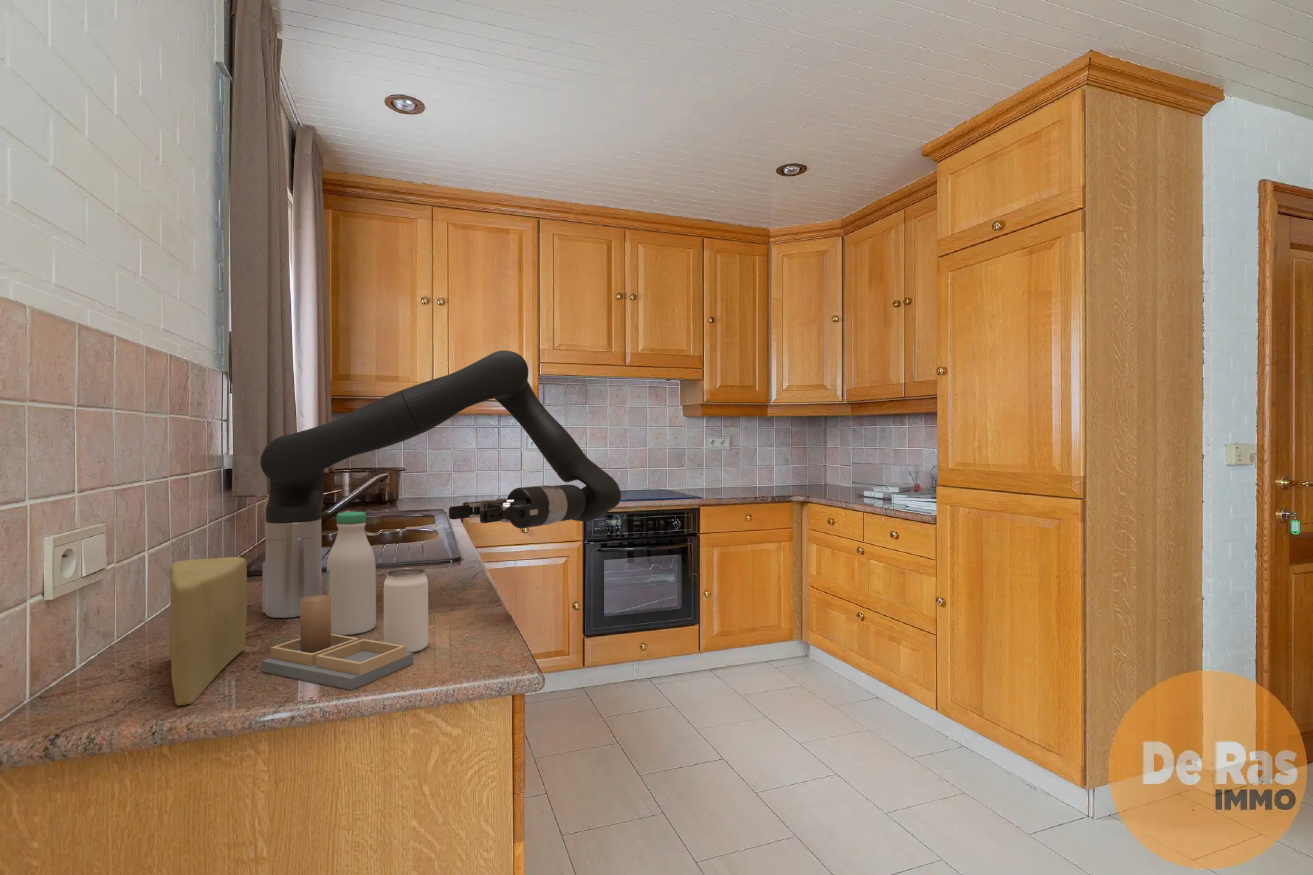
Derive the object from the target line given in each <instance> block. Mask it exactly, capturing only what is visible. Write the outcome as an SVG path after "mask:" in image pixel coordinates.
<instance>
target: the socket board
mask: <svg viewBox="0 0 1313 875" xmlns="http://www.w3.org/2000/svg"><path fill="white" fill-rule="evenodd" d="M299 617H300V619H299V620H300V626H299V627H300V628H299V629H300V632H299V633H300V636H299V638H297V639H294V640H290V641H287V642H286V641H285V642H284V643H281V644H277V645H274V646H271V647H270V657H269V658H267V659H262V660H261V661H260V662H261V665H260V666H261V669H260V670H261V672H262V673H266V674H267V673H268V674H271V675H276V676H281V677H285V678H290V679H296V680H300V681H304V682H310V683H314V684H320V685H324V686H329V687H333V688H339V689H343V690H349V691H353V690H356V689H358V688H360V687H362V686H365V685H367V684H369V683H372V682H374V681H376V680H379V679H381V678H383V677H386V676H388V675H390V674H392V673H396V672H397V671H400V670H402V669H404V668H406V667H409V666H411V665H413V664H414V653H407V652H406V646H403V645H397V644H391V643H384V641H377V640H371V639H366V638H363V639H360V638H358V637H355V636H354V637H353V636H349V635H336V634H331V596H329V595H326V594H322V595H314V596H308V597H304V598H302V599H300V616H299Z"/></svg>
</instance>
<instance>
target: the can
mask: <svg viewBox="0 0 1313 875" xmlns="http://www.w3.org/2000/svg"><path fill="white" fill-rule="evenodd" d="M428 581H429V580H428V578H427V576H426V570H425V569H423V568H417V567H409V568H406V567H405V568H398V569H397V568H396V569H392V570H389V571H387V572H386V578H385V580H384V581H383V582H384V584H383V642H384V643H391V644H397V645H403V646H406V652H407V653H413V654H414V653H415V654H416V653H418V652H421V651H423V650H424V649H426V648H427V646H428V645H429V582H428Z"/></svg>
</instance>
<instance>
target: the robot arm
mask: <svg viewBox="0 0 1313 875" xmlns="http://www.w3.org/2000/svg"><path fill="white" fill-rule="evenodd" d="M528 379H529V366H528V364H527V361H526V359H524V357H523V356H522V355H521V354H519V353H517V352H514V351H511V350H506V349H503V350H498V351H494V352H492V353H490V354H488V355H486V356H485V357H483V358H481V359H479V360H477V361H475V362H473V363H471V364H469V365H467V366H465V367H463V368H460V369H459V370H456V371H454V372H452V373H449V374H446V375H443V376H440V377H436V378H433V379H430V380H427V381H424V382H421V383H418V384H415V385H413V386H409V387H407V388H404V389H401V390H398V391H396V392H394V393H390V394H388V395H385V396H383V397H381V398H378V399H375V400H373V401H371V402H369V403H367V404H365V405H363V406H361V407H359V408H357V409H355V410H353V411H350V412H349V413H347V414H346V415H343V416H341V417H339V418H336V419H335V420H333V421H330V422H326V423H323V424H321V425H318V426H315V427H311V428H307V429H304V430H302V431H301V430H300V431H297V432H293V433H289V434H288V433H287V434H284V435H280V436H278V437H275V438H274V439H273V440H271V441H270V442H268V444H267V445H266V446H265V448H264V449H263V450H262V453H261V456H260V461H259V462H260V467H261V471H262V472H263V474H264V475H265V476H266V477H267V478H268V479H269V495H268V500H267V504H266V507H265V561H263V562H262V614H265V615H266V617H269V618H275V619H276V618H278V619H280V618H283V619H286V618H297V617H300V599H302V598H304V597H308V596H314V595H323V594H322V593H323V592H322V585H323V584H322V583H323V580H322V579H323V578H322V572H323V571H322V565H323V564H322V559H323V558H322V511H323V510H322V509H323V504H324V490H325V489H324V487H325V486H324V484H325V483H324V482H325V480H324V479H325V469H327V468H329V467H332V466H333V465H335V464H338V463H340V462H342V461H344V460H346V459H349V458H351V457H355V456H358V455H362V454H365V453H369V452H372V451H373V452H374V451H377V450H380V449H384V448H388V447H390V446H393V445H396V444H399V443H402V442H405V441H407V440H411V439H412V438H415V437H417V436H419V435H420V436H421V435H422V434H424V433H426V432H429V431H430V430H432V429H434V428H435V427H437V426H439V425H441V424H443V423H444V422H446V421H448V420H449V419H450V418H452V417H454V416H455V415H457V414H458V413H460V412H462V411H463V410H465V409H468V408H469V407H471V406H475V405H477V404H480V403H483V402H485V401H489V400H492V399H495V401H496V402H497V403H499V404H500V405H501V406H502V407H503V408H504V409H505V410H506V411H508V413H509V414H510V415H511V416H512V417H513V419H515V420H516V422H517V423H518V424H519V425H520V426H521V428H522V429H523V430H524V432H526V434H527V435H528V437H529V438H530V439H531V441H532V442H533V444H534V445H535V447H536V448H537V449H538V450H539V452H540V453H541V455H542V456H543V457H544V459H545V461H546V462H547V463H548V464H549V466H550V467H551V468H552V470H553V471H554V472H555V473H556V475H557V476H558V477H559V479H560V480H561V481H563V482H564V483H570V482H574V481H579V482H580V483H582V484H584V485H585V486H583V487H582V488H580V487H579V486H577V485H575V484H558V485H549V484H547V485H546V484H545V485H535V486H534V485H533V486H523V487H516V488H513V490H511V491H510V492H509V493H508V496H507V498H506V497H500V498H499V497H498V498H495V499H482V500H478V501H465V502H462V505H460V504H459V505H455V506H453V505H452V506H450V507H448V518H449V519H450V520H461V519H472V518H473V519H474V518H479V522H480V523H481V524H489V523H496V522H502V523H510V524H511V525H512V526H513V527H515V528H517V529H521V530H523V529H529V528H535V527H541V526H548V525H552V524H555V523H559V522H564V521H565V522H566V521H570V520H571V521H575V522H584V523H585V522H591V521H594V520H596V519H599V518H600V517H602V516H603V515H605V514H606V513H608V512H610V511H612V509H615V508H616V507H617V506H618V505H619V504H620V502H621V500H622V492H621V489H620V486H619V484H618V483H617V481H616V480H615V479H614V478H613V476H611V475H610V474H609V473H607V472H606V471H605V470H603V469H602V468H601V467H599V466H598V465H597V464H596V463H595V462H594V461H592V460H591V459H589V457H587V455H586V454H585V453H584V451H583V450H582V449H581V447H580V446H579V444H578V443H577V442H576V440H575V439H574V438H573V437H572V435H571V434H570V433H569V432H568V431H567V429H565V427H563V426H562V425H561V423H559V422H558V421H557V420H556V419H555V417H554V416H553V415H552V414H550V412H549V411H548V410H547V409H546V408H545V406H544V405H543V404H542V402H541V401H540V400H539V399H538V397H537V395H536V393H535V391H534V390H533V388H532V386H531V385H530V383H529V380H528Z"/></svg>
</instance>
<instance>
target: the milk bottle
mask: <svg viewBox="0 0 1313 875" xmlns="http://www.w3.org/2000/svg"><path fill="white" fill-rule="evenodd" d="M366 521H367V514H366V512H364V511H346V512H345V511H343V512H339V513H337V514H336V527H337V535H336V537H335V541H334V543H333V545H332V546H331V549H330V552H329V555H328V558H327V562H326V576H325V577H326V582H325V584H326V585H325V586H326V588H325V589H326V590H325V593H326V594H325V595H329V596H331V634H336V635H342V636H350V635H358V634H363V633H366V632H369V631H371V630H373V629H374V628H375V627H376V625H377V581H376V580H377V578H376V577H377V574H376V569H377V568H376V558H375V554H374V550H373V548H372V546H371V543H370V542H369V540H368V537H367V533H366V529H365V526H366V525H367V522H366Z"/></svg>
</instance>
